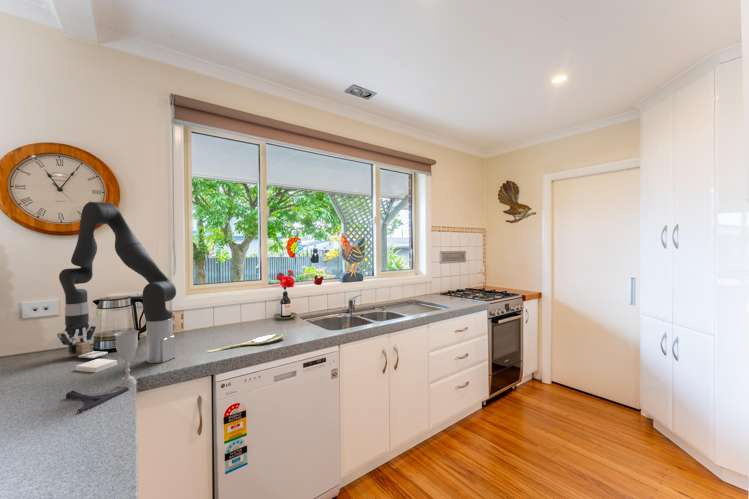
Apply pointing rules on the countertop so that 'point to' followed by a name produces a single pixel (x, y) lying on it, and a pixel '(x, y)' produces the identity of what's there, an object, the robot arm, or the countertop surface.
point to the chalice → (127, 352)
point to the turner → (85, 351)
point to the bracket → (93, 398)
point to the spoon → (253, 342)
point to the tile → (96, 365)
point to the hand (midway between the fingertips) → (77, 351)
